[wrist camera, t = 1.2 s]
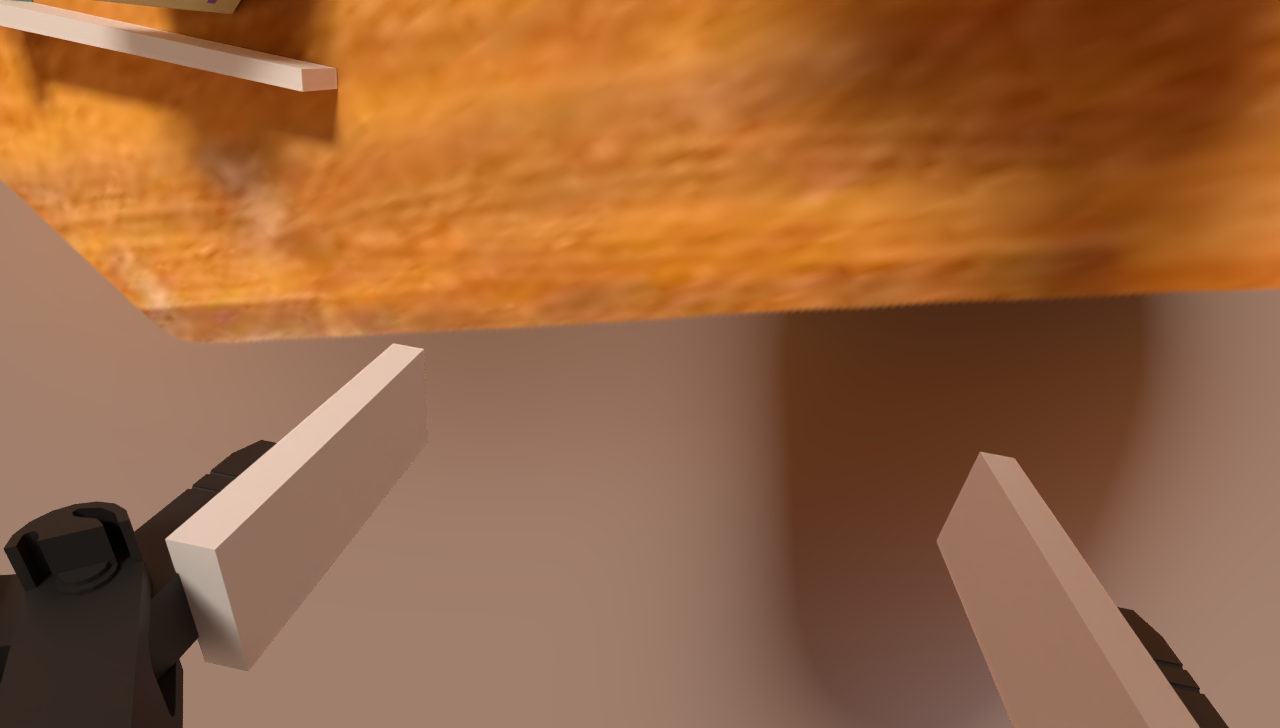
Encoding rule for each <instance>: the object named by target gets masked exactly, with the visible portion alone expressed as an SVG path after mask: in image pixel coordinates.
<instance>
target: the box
mask: <svg viewBox="0 0 1280 728" xmlns="http://www.w3.org/2000/svg"><path fill="white" fill-rule="evenodd" d="M95 1H106V2H115V3H124V4H134V5H144V6H154V7H164V8H174V9H183V10H194V11H203V12H213V13H223V14H233V12H234V11H235V9H236V7H237V6H238V4H239V2H240V1H241V0H95Z"/></svg>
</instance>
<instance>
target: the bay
mask: <svg viewBox="0 0 1280 728" xmlns="http://www.w3.org/2000/svg"><path fill="white" fill-rule="evenodd" d="M0 26H4V27H9V28H14V29H18V30H23V31H27V32H32V33H36V34H41V35H46V36H50V37H55V38H59V39H64V40H68V41H73V42H78V43H82V44H87V45H91V46H96V47H100V48H105V49H110V50H114V51H119V52H123V53H128V54H133V55H137V56H142V57H146V58H151V59H155V60H160V61H165V62H169V63H174V64H178V65H183V66H187V67H192V68H197V69H201V70H206V71H210V72H215V73H219V74H224V75H229V76H233V77H238V78H242V79H247V80H251V81H256V82H261V83H265V84H270V85H274V86H279V87H284V88H288V89H293V90H297V91H302V92H306V91H318V90H331V89H338V88H337V68H334V67H329V66H325V65H320V64H315V63H311V62H306V61H302V60H297V59H292V58H288V57H283V56H278V55H274V54H269V53H265V52H260V51H255V50H251V49H246V48H242V47H237V46H232V45H228V44H223V43H218V42H214V41H209V40H205V39H200V38H195V37H191V36H186V35H182V34H177V33H172V32H168V31H163V30H159V29H154V28H149V27H145V26H140V25H135V24H131V23H126V22H122V21H117V20H112V19H108V18H103V17H99V16H94V15H89V14H85V13H80V12H76V11H71V10H66V9H62V8H57V7H52V6H48V5H43V4H39V3H34V2H32V0H0Z"/></svg>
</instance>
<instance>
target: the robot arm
mask: <svg viewBox="0 0 1280 728" xmlns="http://www.w3.org/2000/svg"><path fill="white" fill-rule="evenodd" d="M424 362H425V361H424V349H421V348H415V347H410V346H404V345H399V344H392V345H391V346H390V347H389V348H388V349H386V350H385V351H384V352H383V353H382V354H381V355H379V356H378V357H377V358H376V359H375V360H374V361H373V362H371V363H370V364H369V365H368V366H367V367H365V368H364V369H363V370H362V371H361V372H360V373H358V374H357V375H356V376H355V377H354V378H353V379H351V380H350V381H349V382H348V383H347V384H346V385H344V386H343V387H342V388H341V389H340V390H339V391H337V392H336V393H335V394H334V395H333V396H332V397H330V398H329V399H328V400H327V401H326V402H325V403H323V404H322V405H321V406H320V407H319V408H317V409H316V410H315V411H314V412H313V413H312V414H311V415H309V416H308V417H307V418H306V419H305V420H303V421H302V422H301V423H300V424H299V425H298V426H297V427H295V428H294V429H293V430H292V431H291V432H290V433H288V434H287V435H286V436H285V437H284V438H282V439H281V440H280V441H279V442H278V443H274V442H269V441H264V440H260V441H258V442H256V443H254V444H252V445H249V446H247V447H245V448H243V449H241V450H238V451H236V452H234V453H232V454H231V455H230V456H229V457H227V458H226V459H225V460H224V461H222V462H221V463H220V464H218V465H217V466H216V467H215V468H213V469H212V470H211V473H210V474H209V475H208V474H206V475H205V476H204V477H202V478H201V479H200V480H198V481H197V482H196V483H195V484H193V487H192V489H187V490H186V491H185V492H183V493H182V494H181V495H180V496H178V497H177V498H176V499H175V500H173V501H172V502H171V503H170V504H168V505H167V506H166V507H165V508H164V509H162V510H161V511H160V512H158V513H157V514H156V515H155V516H154V517H152V518H151V519H150V520H149V521H147V522H146V523H145V524H144V525H142V526H141V527H140V528H139V529H137V530H136V531H135V532H134V531H133V528H132V525H131V522H130V519H129V517H128V514H127V511H126V510H125V509H124V508H121V507H120V506H118V505H116V504H114V503H104V502H90V503H81V504H74V505H71V506H68V507H64V508H61V509H58V510H54V511H51V512H49V513H47V514H45V515H43V516H41V517H39V518H37V519H35V520H33V521H31V522H29V523H28V524H26V525H25V526H24V527H23V528H21V529H20V530H19V531H17V532H16V533H15V534H14V535H12V537H11V538H10V540H9V541H8V543H7V544H6V546H5V547H4V551H5V553H6V554H7V556H8V558H9V560H10V562H11V564H12V566H13V568H14V570H15V572H16V574H14V575H0V728H183V669H182V665H181V663H180V660H179V658H180V657H181V656H182V655H183V654H184V653H185V652H186V650H187V649H188V648H189V647H190V646H191V645H192V644H193V643H194V642H195V641H196V640H197V639H198V642H199V644H200V647H201V651H202V654H203V656H204V660H205V662H209V663H213V664H218V665H223V666H227V667H231V668H236V669H241V670H245V671H249V670H250V669H251V668H252V666H253V665H254V664H255V662H256V661H257V660H258V659H259V657H260V656H261V655H262V654H263V652H264V651H265V650H266V649H267V647H268V646H269V645H270V643H271V642H272V641H273V640H274V638H275V637H276V636H277V634H278V633H279V632H280V631H281V629H282V628H283V627H284V626H285V624H286V623H287V622H288V620H289V619H290V618H291V617H292V615H293V614H294V613H295V611H296V610H297V609H298V608H299V606H300V605H301V604H302V603H303V601H304V600H305V599H306V597H307V596H308V595H309V594H310V592H311V591H312V590H313V589H314V587H315V586H316V585H317V583H318V582H319V581H320V580H321V578H322V577H323V576H324V574H325V573H326V572H327V571H328V569H329V568H330V567H331V565H332V564H333V563H334V562H335V560H336V559H337V558H338V557H339V555H340V554H341V553H342V552H343V550H344V549H345V548H346V546H347V545H348V544H349V543H350V541H351V540H352V539H353V537H354V536H355V535H356V534H357V532H358V531H359V530H360V529H361V527H362V526H363V524H364V523H365V522H366V521H367V520H368V518H369V517H370V516H371V514H372V513H373V512H374V511H375V509H376V508H377V507H378V506H379V504H380V503H381V502H382V500H383V499H384V498H385V497H386V495H387V494H388V493H389V491H390V490H391V488H393V486H394V485H395V484H396V483H397V481H398V480H399V479H400V478H401V476H402V475H403V473H404V472H405V471H406V470H407V469H408V467H409V466H410V465H411V463H412V462H413V461H414V460H415V458H416V457H417V456H418V455H419V453H420V452H421V451H422V449H423V448H424V447H425V446H426V444H427V443H428V429H427V407H426V385H425V363H424ZM936 542H937V544H938V547H939V549H940V551H941V554H942V556H943V559H944V561H945V564H946V566H947V569H948V571H949V573H950V576H951V578H952V581H953V583H954V586H955V588H956V590H957V593H958V595H959V597H960V600H961V603H962V605H963V607H964V610H965V612H966V615H967V617H968V620H969V622H970V624H971V627H972V629H973V632H974V634H975V637H976V639H977V641H978V644H979V646H980V649H981V651H982V654H983V656H984V658H985V661H986V663H987V666H988V668H989V671H990V673H991V675H992V678H993V680H994V683H995V685H996V687H997V690H998V692H999V695H1000V697H1001V700H1002V702H1003V704H1004V707H1005V709H1006V712H1007V714H1008V717H1009V719H1010V722H1011V724H1012V726H1013V728H1229V727H1228V726H1227V725H1226V723H1225V722H1224V721H1223V719H1222V718H1221V717H1220V715H1219V714H1218V712H1217V711H1216V710H1215V708H1214V707H1213V706H1212V704H1211V703H1210V701H1209V700H1208V699H1207V697H1206V696H1205V695H1204V694H1200V692H1199V689H1200V688H1199V687H1198V685H1197V684H1196V682H1195V681H1194V680H1193V678H1192V677H1191V675H1190V674H1189V673H1188V672H1187V670H1183V668H1182V665H1183V664H1182V663H1181V662H1180V660H1179V659H1178V658H1177V656H1176V655H1175V654H1174V652H1173V651H1172V649H1171V648H1170V647H1169V645H1168V644H1167V643H1166V641H1165V640H1164V638H1163V637H1162V636H1161V635H1160V634H1159V633H1158V632H1156V631H1155V630H1154V629H1153V628H1152V627H1151V626H1150V625H1149V624H1148V623H1146V622H1145V621H1144V620H1143V619H1142V618H1141V617H1140V616H1139V615H1137V614H1136V613H1135V612H1134V611H1133V610H1129V609H1124V608H1119V607H1117V606H1116V605H1115V603H1114V602H1113V601H1112V599H1111V598H1110V597H1109V595H1108V594H1107V592H1106V590H1105V589H1104V587H1103V586H1102V585H1101V583H1100V582H1099V580H1098V579H1097V577H1096V576H1095V574H1094V573H1093V572H1092V570H1091V569H1090V567H1089V566H1088V564H1087V563H1086V561H1085V560H1084V558H1083V557H1082V555H1081V554H1080V553H1079V551H1078V550H1077V548H1076V547H1075V545H1074V544H1073V543H1072V541H1071V539H1070V538H1069V537H1068V535H1067V534H1066V532H1065V531H1064V529H1063V528H1062V526H1061V525H1060V524H1059V522H1058V521H1057V519H1056V518H1055V516H1054V515H1053V514H1052V512H1051V511H1050V509H1049V508H1048V506H1047V505H1046V503H1045V502H1044V500H1043V499H1042V497H1041V496H1040V494H1039V493H1038V492H1037V490H1036V489H1035V487H1034V486H1033V484H1032V483H1031V481H1030V480H1029V478H1028V477H1027V476H1026V474H1025V473H1024V471H1023V470H1022V469H1021V467H1020V466H1019V464H1018V463H1017V461H1016V460H1015V458H1012V457H1006V456H1000V455H995V454H990V453H984V452H980V453H979V455H978V457H977V459H976V461H975V463H974V465H973V467H972V469H971V471H970V473H969V475H968V477H967V479H966V481H965V483H964V485H963V487H962V489H961V492H960V493H959V496H958V497H957V499H956V502H955V504H954V506H953V508H952V510H951V512H950V514H949V516H948V518H947V520H946V522H945V524H944V526H943V528H942V530H941V532H940V534H939V536H938V538H937V541H936Z"/></svg>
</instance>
